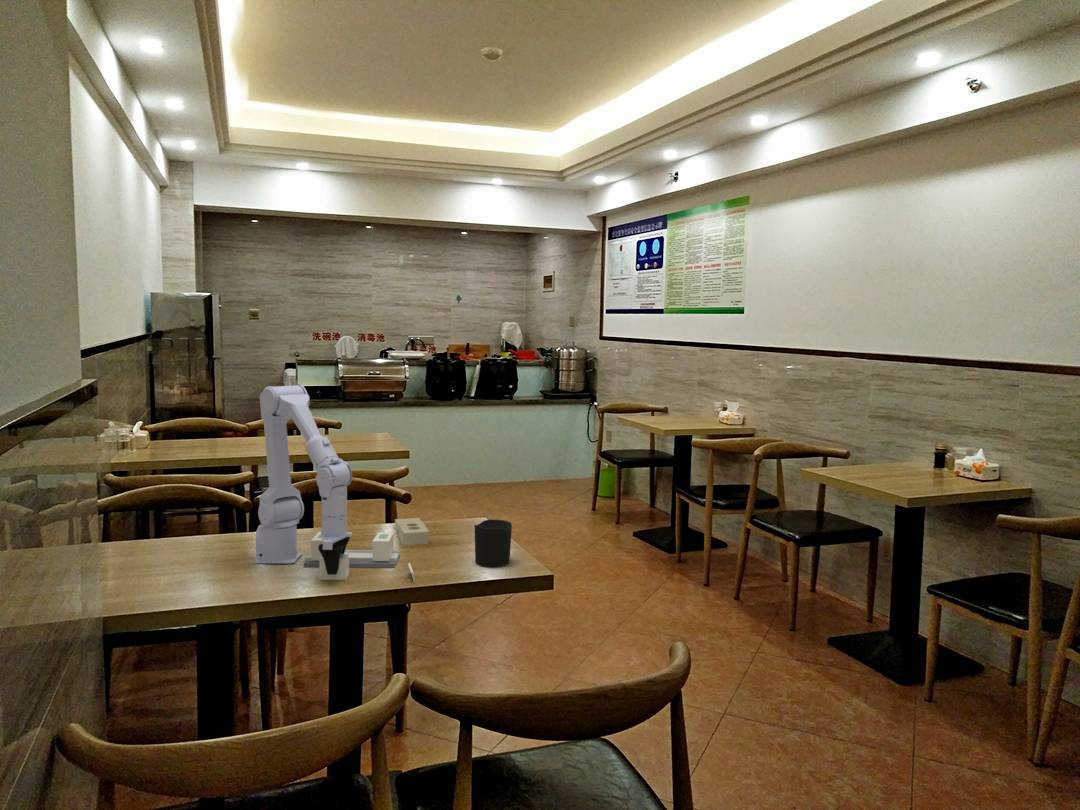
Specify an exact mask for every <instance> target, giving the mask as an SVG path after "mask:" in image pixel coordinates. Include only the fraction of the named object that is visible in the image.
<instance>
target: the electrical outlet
mask: <svg viewBox="0 0 1080 810" xmlns="http://www.w3.org/2000/svg"><path fill="white" fill-rule="evenodd" d="M394 529H396V530H395V532H396V531H397V532H396V533H397V536H398V538H399V541H400V540H401V541H400V542H401V545H402V546H414V545H415V544H419V545H429V543H430V531H429V529H428V528H427V526H426V524H425V523H424V521H422V520H421V518H420V517H413V518H411V517H409V518H396V519H394ZM415 546H416V545H415Z"/></svg>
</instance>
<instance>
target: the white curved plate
mask: <svg viewBox="0 0 1080 810" xmlns="http://www.w3.org/2000/svg"><path fill="white" fill-rule="evenodd" d="M408 568H409V570H410V574H411V579H412V583H415V580H416V579H415V573H414V571H413V567H412V565H411V563H410V562H408ZM408 576H409V575H408V573H407V571H406V572H404V579H405V580H408V578H409V577H408Z"/></svg>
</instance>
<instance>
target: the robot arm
mask: <svg viewBox="0 0 1080 810" xmlns="http://www.w3.org/2000/svg"><path fill="white" fill-rule="evenodd" d="M259 404H260V405H259V406H260V417H261V420H263V429H264V431H263V432H264V440H265V441H264V443H265V451H266V452H265V453H266V454H265V455H266V465H267V475H268V476H267V477H268V478H267V479H268V488H267V489H266V490H265V491H264V492H263V493H262V494H260V496H259V507H258V509H257V510H258V511H257V514H258V519H259V521H260V523H261V524H259V525H258V526H257V529H256V532H255V561H254V563H255V564H273V565H274V564H277V565H278V564H285V565H287V564H288V565H289V564H295V562H296V561H297V560H298V559H299V558H300V557H301V556H302V555H303V553H302V552H298V541H297V539H298V538H297V535H298V533H297V532H298V530H297V527H298V526H297V525H298V524H300V520H301V519H302V518H303V516H304V513H305V505H304V502H303V501H302V496H301V491H300V490H299V489H297V488H296V487H295V486H294V485H292V477H291V465H290V464H291V463H290V454H289V453H290V452H289V441H288V439H289V438H288V429H287V428H288V427H287V423H288V422H289V421H290V420H292V421H293V423H294V425H295V426H296V427H297V429H298V430H299V432H300V433H301V435H302V436H303V438H304V440H305V441H306V446H305V451H306V453H307V456H308V457H309V459H310V460H311V463H312V464H313V467H314V468H315V471H316V475H315V481H316V484H317V486H318V487H317V488H318V492H319V496H320V497H321V532H322V533H321V538H322V540H323V544H320V545H319V546H318V549H319V551H320V553H321V554H322V557H323V559H324V562H325V566H326V571H327V574H328V575H336V574H337V572H338V567H339V560H340V556H341V554H344V553H345V550H347V546H348V543H349V541H350V540H351V539H350V538H351V537H352V536H353V532H352V531H348V486H349V485H350V484H351V483H352V482H353V481H352V480H353V470H352V469H351V465H350V464H349V463H348V462H347V461H344V460H343V459H342V458H339V456H338V454H337V452H336V451H335V448H334V446H333V445H332V443H331V442H330V440H329V438H328V437H327V436H323V435H321V433H320V431H319V428H318V426H317V423H316V421H315V419H314V416H313V414H312V412H311V410H310V408H309V407H310V395H309V394H308V392H307V390H306V388H305V386H303V385H302V384H295V385H283V386H282V385H280V386H279V385H278V386H277V385H276V386H271V385H268V386H266V387H264V389H263V390H262V392H261V393H260V395H259Z"/></svg>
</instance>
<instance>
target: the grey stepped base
mask: <svg viewBox="0 0 1080 810" xmlns="http://www.w3.org/2000/svg"><path fill="white" fill-rule="evenodd" d="M321 533H322V531H318V532H317V533H316V535H314V536H313V537H312V538H311V540H310V554H309V555H308V556H306V557H305V561H304V562H303V568H320V567H319V559H320V557H321V556H322V554H321V553H320V551H319V549H318V546H319V545H320V544H323V540H322V538H321ZM394 536H395V532H389V531H388V532H384V531H383V532H380V531H378V532H377V533H376V535H375V536H374V538H373V540H372V549H345V553H344V554H349V569H351V568H352V569H353V568H354V569H355V568H357V569H358V568H360V569H361V568H362V569H363V568H366V569H367V568H368V569H371V568H372V569H375V568H376V569H377V568H378V569H395V568H396V566H397V563H398V561H399V559H400V556H401V551H400V550H396V549H395V545H394V543H395V542H394V540H395V537H394Z"/></svg>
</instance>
